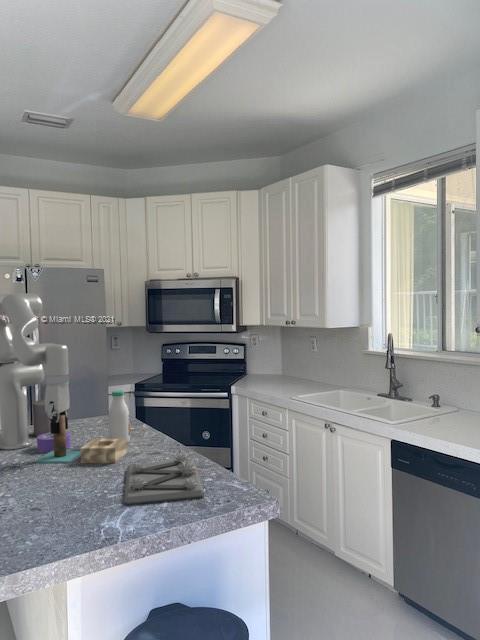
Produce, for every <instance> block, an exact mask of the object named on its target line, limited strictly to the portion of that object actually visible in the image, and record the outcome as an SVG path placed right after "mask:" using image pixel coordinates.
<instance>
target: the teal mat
mask: <svg viewBox="0 0 480 640" xmlns="http://www.w3.org/2000/svg"><path fill="white" fill-rule="evenodd" d="M78 457H81V450H66V456H63V457H54V451H51V452H47V453H46V454H44V455H43V456H41V457H40V458H38V459H37V460H35V463H36V464H70V463H71V462H73V461H74V460H75V459H77V458H78Z"/></svg>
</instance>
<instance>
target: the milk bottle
mask: <svg viewBox="0 0 480 640" xmlns="http://www.w3.org/2000/svg"><path fill="white" fill-rule="evenodd" d="M111 397H112V402H111V405H110V407H109V410H108V435H109V436H108V439H126V443H127V444H129V443H130V441H131V438H130V437H131V435H130V434H131V433H130V412H129V408H128V405H127V404H126V401H125V391H124V390H113V391H112V392H111Z"/></svg>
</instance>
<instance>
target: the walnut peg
mask: <svg viewBox="0 0 480 640" xmlns="http://www.w3.org/2000/svg"><path fill="white" fill-rule="evenodd" d="M55 417H56V415H55ZM59 422H60V433H59V434H54V457H63V456H66V451H67V449H66V432H67V431H66V430H67V429H65V415H59Z"/></svg>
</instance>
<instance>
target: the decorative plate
mask: <svg viewBox="0 0 480 640" xmlns="http://www.w3.org/2000/svg"><path fill="white" fill-rule="evenodd" d="M189 456H190V454H189V453H186V451H184V452H183V451H181V453H180V452H178V454H177V455H176V456H174V459H175V460H164V461H154V462H151V461H150V462H141V461H139V462H138V461H137V462H135V461H134V463H130V464H129V465H128V466H127V468H126V476H125V489H124V490H125V491H124V500H123V502H124V503H125V504H126V505H139V504H147V503H148V504H149V503H157V502H170V501H176V500H177V501H178V500H179V501H180V500H188V499H189V500H191V499H198V498H203V497H204V496H205V495H206V492H205V490H204V487H203V483H202V480H201V477H200V474H199V472H198V468H197V465H196V462H195V461H194V460H193V459H192V457H189Z"/></svg>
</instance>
